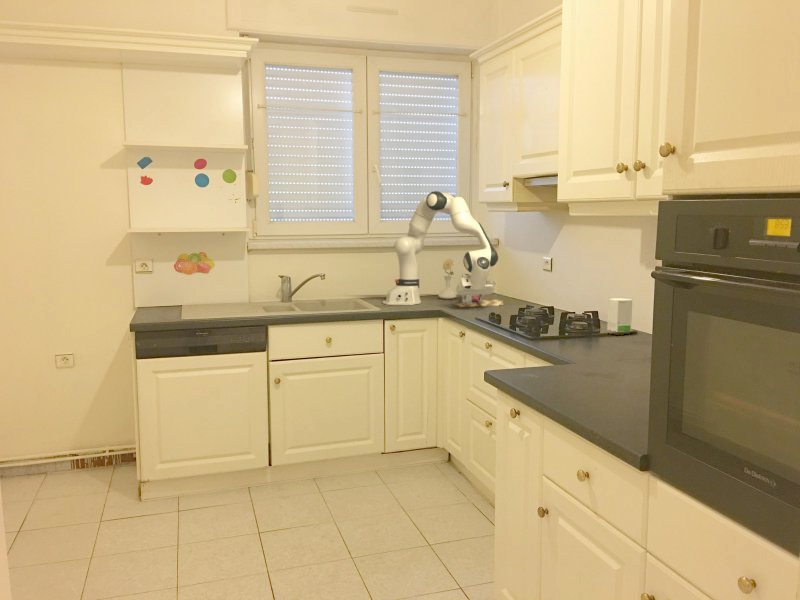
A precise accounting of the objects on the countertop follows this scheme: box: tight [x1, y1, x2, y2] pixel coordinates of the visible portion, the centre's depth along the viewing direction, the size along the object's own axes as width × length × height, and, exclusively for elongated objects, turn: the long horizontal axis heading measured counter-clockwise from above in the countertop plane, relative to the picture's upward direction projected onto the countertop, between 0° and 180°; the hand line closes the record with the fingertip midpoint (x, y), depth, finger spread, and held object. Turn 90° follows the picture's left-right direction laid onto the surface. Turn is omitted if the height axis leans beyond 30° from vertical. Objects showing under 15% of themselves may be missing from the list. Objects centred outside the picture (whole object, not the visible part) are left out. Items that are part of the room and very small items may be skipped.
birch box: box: [477, 299, 504, 307], centre depth 382 cm, size 13×7×2 cm, turn 98°
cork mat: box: [454, 302, 481, 308], centre depth 379 cm, size 12×12×1 cm
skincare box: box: [606, 297, 633, 332], centre depth 289 cm, size 8×7×16 cm
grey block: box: [461, 295, 473, 305], centre depth 379 cm, size 5×2×8 cm, turn 98°
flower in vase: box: [438, 258, 458, 300], centre depth 408 cm, size 13×11×25 cm
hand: (472, 297), depth 368 cm, fingers open, 8 cm apart
